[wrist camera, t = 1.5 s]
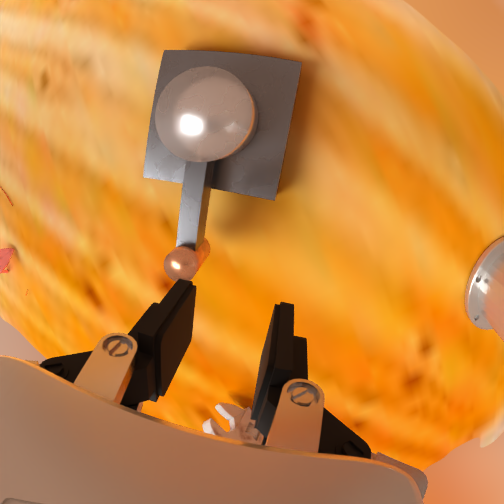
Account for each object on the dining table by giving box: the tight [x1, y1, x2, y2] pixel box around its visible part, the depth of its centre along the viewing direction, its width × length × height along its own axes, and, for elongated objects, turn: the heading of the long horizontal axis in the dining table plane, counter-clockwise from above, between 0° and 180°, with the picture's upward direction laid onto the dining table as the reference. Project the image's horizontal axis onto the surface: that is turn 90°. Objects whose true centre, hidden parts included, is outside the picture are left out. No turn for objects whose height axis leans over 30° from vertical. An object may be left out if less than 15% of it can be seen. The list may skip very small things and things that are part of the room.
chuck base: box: [143, 50, 302, 201], centre depth 24 cm, size 12×12×3 cm
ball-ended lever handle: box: [155, 66, 258, 282], centre depth 22 cm, size 16×7×4 cm, turn 170°
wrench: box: [202, 403, 263, 445], centre depth 37 cm, size 8×2×30 cm
